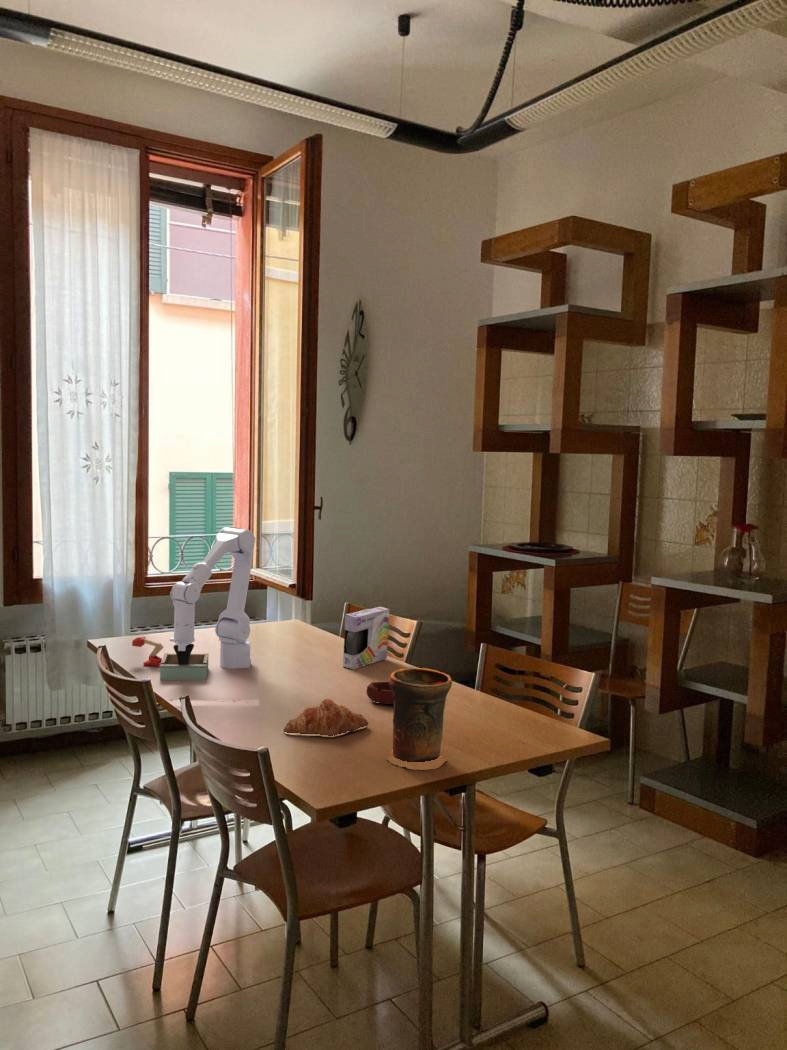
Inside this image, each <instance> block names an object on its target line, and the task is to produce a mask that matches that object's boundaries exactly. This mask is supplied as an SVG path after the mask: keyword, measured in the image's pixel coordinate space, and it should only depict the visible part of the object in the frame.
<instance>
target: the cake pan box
mask: <svg viewBox="0 0 787 1050" xmlns="http://www.w3.org/2000/svg"><path fill="white" fill-rule="evenodd" d="M389 621H390V608H386V607H383V606H376V607H373V608H368V609H362V610H359V611H355V612H351V613H350V612H349V613H346V614H345V615H344V633H343V634H344V637H343V639H344V642H343V653H342V654H343V655H342V657H343V659H342V660H343V661H342V663H343V664H342V668H344V667H346V668H345V669H348V668H351V669H350V670H352V669H354V670H356V669H355V668H357V669H359V668H358V667H360V668H362V667H361V666H363V667H365V666H364V665H366V666H368V665H367V664H369V665H372V664H375V663H378V662H381V661H383V660H386V659H387V658H388V656H387V655H388V642H389V639H388V638H389V625H390V624H389V623H390V622H389ZM371 663H372V664H371Z"/></svg>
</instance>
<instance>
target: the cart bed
mask: <svg viewBox="0 0 787 1050" xmlns="http://www.w3.org/2000/svg"><path fill="white" fill-rule="evenodd" d="M161 664H178V658H177V655H176V653H164V655H163V656H162V661H161ZM188 664H206V678H207V676H208V671H209V653H191V654H190V658H189V663H188Z"/></svg>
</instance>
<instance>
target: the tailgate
mask: <svg viewBox="0 0 787 1050" xmlns="http://www.w3.org/2000/svg"><path fill="white" fill-rule="evenodd" d="M159 680H160V681H206V680H207V677H206V664H160V667H159Z"/></svg>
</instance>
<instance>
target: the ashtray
mask: <svg viewBox="0 0 787 1050" xmlns="http://www.w3.org/2000/svg"><path fill="white" fill-rule="evenodd" d="M366 696H367V697H368V698H369V699H370V700H372V702H373V701H375V702H379V703H378V704H385V705H394V699H393V691H392V689H391V688H390V685H389V680H388V681H373V682H370V683H369V684H368V685H367V686H366Z"/></svg>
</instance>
